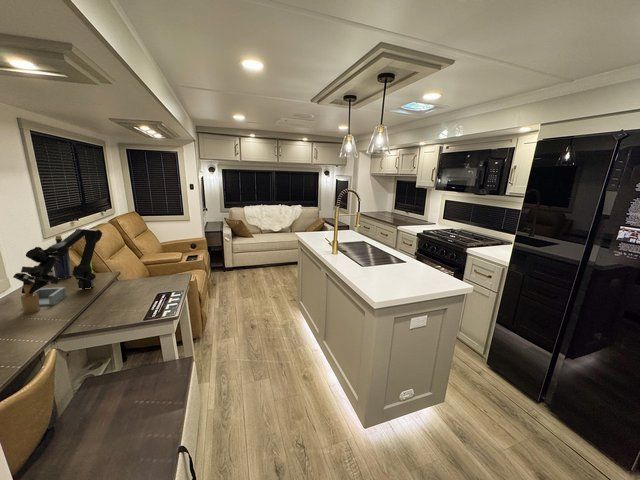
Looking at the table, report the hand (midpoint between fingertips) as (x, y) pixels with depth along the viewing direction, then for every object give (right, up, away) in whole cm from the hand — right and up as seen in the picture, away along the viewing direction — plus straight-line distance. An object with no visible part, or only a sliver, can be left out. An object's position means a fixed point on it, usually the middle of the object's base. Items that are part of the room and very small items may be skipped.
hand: (26, 293), depth 133 cm
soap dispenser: (-17, +1, +54) cm, 57 cm away
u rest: (-5, -8, +14) cm, 17 cm away
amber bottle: (-1, -10, +3) cm, 11 cm away
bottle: (-30, +1, +49) cm, 57 cm away
